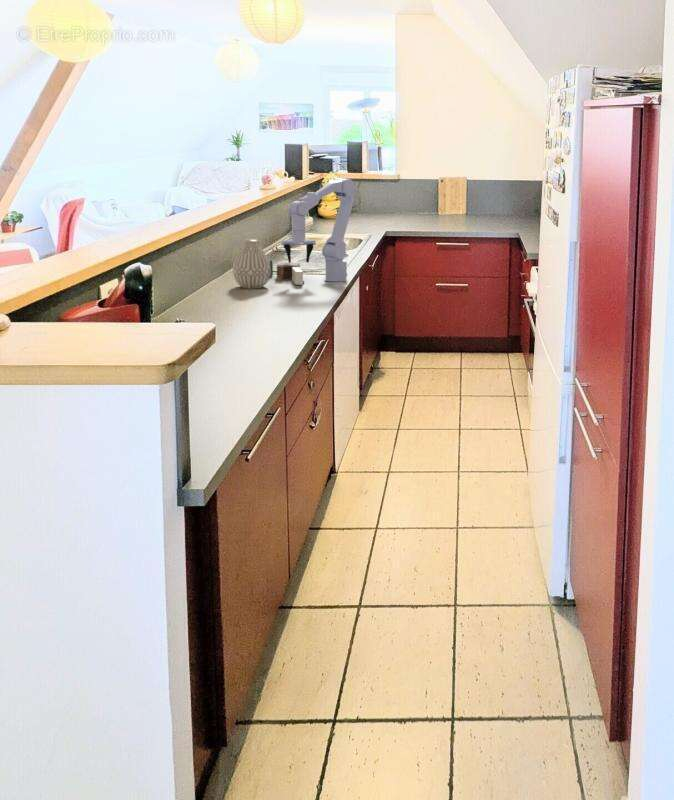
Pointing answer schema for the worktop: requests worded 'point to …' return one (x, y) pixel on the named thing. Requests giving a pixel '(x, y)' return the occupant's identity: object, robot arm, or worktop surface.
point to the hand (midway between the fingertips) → (298, 262)
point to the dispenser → (285, 269)
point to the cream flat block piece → (297, 275)
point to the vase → (251, 266)
